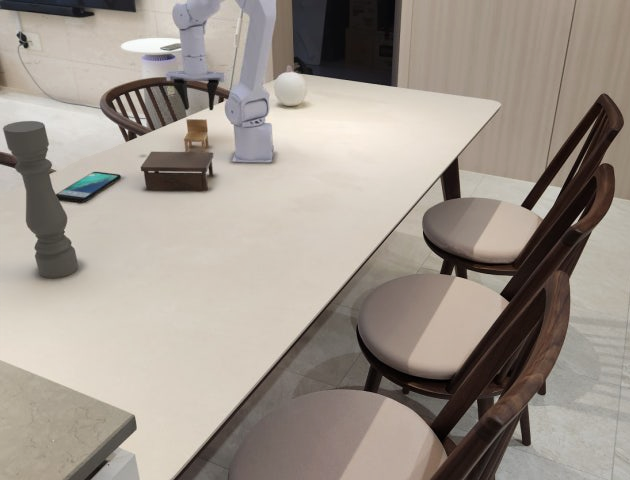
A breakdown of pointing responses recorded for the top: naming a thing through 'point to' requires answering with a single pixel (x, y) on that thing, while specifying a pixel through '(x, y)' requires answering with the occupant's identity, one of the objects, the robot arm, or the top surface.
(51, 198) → the candle holder
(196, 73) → the robot arm
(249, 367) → the top surface
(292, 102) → the ornament
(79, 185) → the smartphone
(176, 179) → the desk
